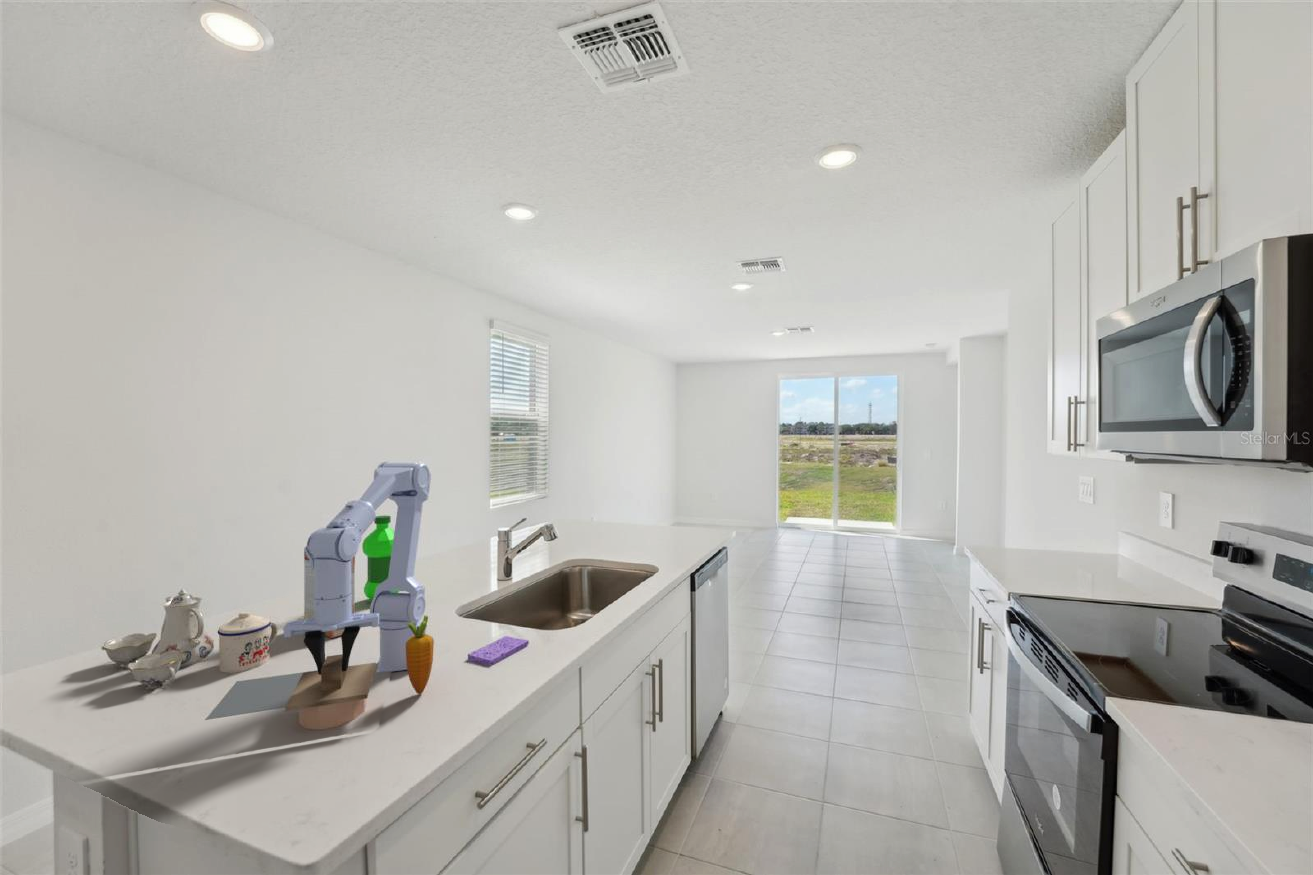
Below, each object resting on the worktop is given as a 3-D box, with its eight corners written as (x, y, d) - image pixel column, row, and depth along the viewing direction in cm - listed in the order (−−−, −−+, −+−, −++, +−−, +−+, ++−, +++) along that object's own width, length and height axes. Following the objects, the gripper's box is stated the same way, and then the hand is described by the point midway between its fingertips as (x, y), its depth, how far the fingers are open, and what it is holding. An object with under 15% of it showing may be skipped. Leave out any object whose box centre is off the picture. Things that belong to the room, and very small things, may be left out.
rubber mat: (323, 671, 113) (323, 669, 113) (305, 706, 99) (305, 703, 99) (236, 683, 108) (236, 681, 108) (205, 722, 94) (205, 719, 94)
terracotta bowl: (369, 697, 103) (368, 674, 103) (361, 724, 93) (361, 699, 93) (308, 707, 99) (307, 683, 99) (293, 736, 90) (293, 710, 90)
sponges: (467, 662, 120) (467, 653, 120) (506, 642, 131) (506, 634, 131) (491, 668, 116) (491, 660, 116) (529, 647, 128) (529, 639, 128)
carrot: (406, 703, 101) (406, 623, 100) (405, 691, 105) (404, 615, 105) (434, 697, 103) (434, 619, 103) (432, 686, 107) (432, 611, 107)
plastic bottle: (409, 597, 163) (409, 515, 162) (378, 608, 153) (378, 520, 152) (386, 593, 167) (386, 513, 166) (355, 603, 157) (354, 518, 157)
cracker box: (356, 631, 135) (356, 549, 135) (331, 639, 130) (331, 554, 130) (328, 620, 143) (327, 542, 143) (303, 627, 138) (302, 546, 137)
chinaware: (88, 676, 114) (75, 601, 113) (184, 640, 129) (174, 574, 127) (148, 708, 102) (134, 624, 100) (247, 664, 116) (237, 591, 114)
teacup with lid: (241, 677, 111) (241, 621, 110) (206, 673, 113) (206, 617, 112) (292, 653, 122) (292, 602, 122) (260, 649, 124) (259, 599, 124)
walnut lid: (375, 666, 104) (375, 642, 104) (367, 698, 93) (366, 671, 93) (303, 676, 100) (303, 651, 100) (285, 711, 89) (284, 683, 88)
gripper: (278, 606, 89) (278, 687, 90) (375, 597, 95) (376, 673, 95) (289, 594, 96) (290, 669, 96) (380, 586, 101) (380, 657, 101)
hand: (333, 670), depth 96 cm, fingers closed on walnut lid, 3 cm apart
